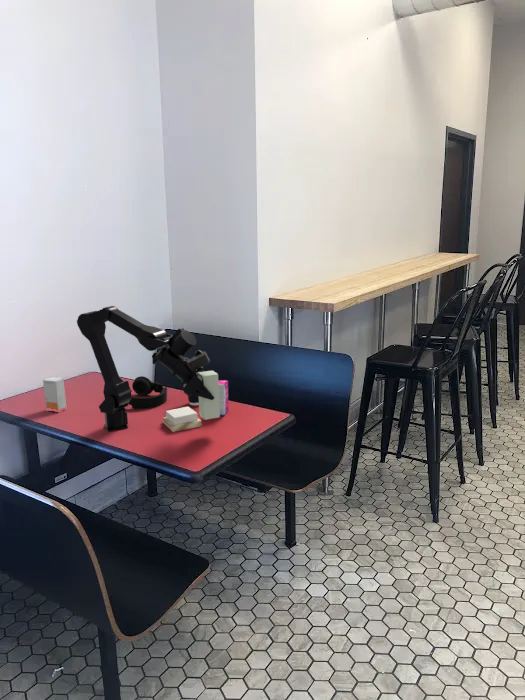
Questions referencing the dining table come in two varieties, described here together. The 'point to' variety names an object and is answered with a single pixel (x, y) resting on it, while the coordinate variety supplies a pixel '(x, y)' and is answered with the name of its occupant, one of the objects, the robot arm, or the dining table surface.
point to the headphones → (145, 388)
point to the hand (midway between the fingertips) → (213, 395)
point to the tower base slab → (181, 425)
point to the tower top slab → (181, 415)
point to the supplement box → (223, 397)
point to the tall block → (207, 406)
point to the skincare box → (54, 393)
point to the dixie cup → (193, 399)
